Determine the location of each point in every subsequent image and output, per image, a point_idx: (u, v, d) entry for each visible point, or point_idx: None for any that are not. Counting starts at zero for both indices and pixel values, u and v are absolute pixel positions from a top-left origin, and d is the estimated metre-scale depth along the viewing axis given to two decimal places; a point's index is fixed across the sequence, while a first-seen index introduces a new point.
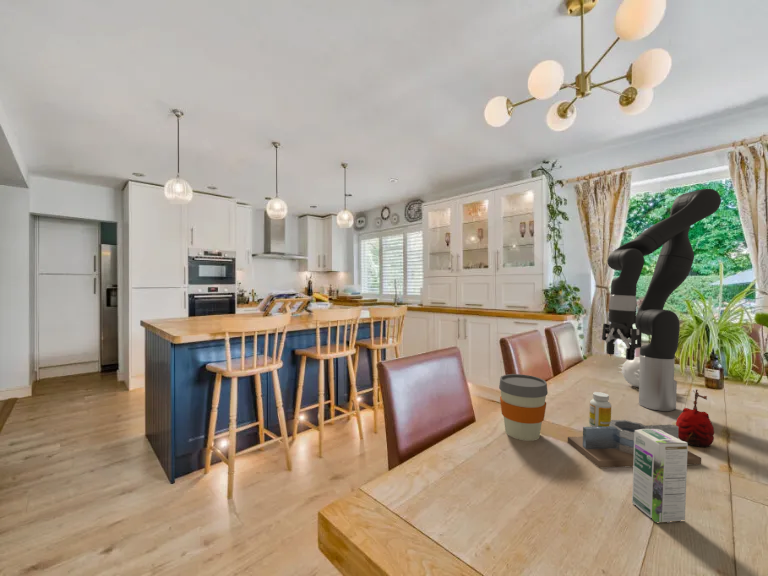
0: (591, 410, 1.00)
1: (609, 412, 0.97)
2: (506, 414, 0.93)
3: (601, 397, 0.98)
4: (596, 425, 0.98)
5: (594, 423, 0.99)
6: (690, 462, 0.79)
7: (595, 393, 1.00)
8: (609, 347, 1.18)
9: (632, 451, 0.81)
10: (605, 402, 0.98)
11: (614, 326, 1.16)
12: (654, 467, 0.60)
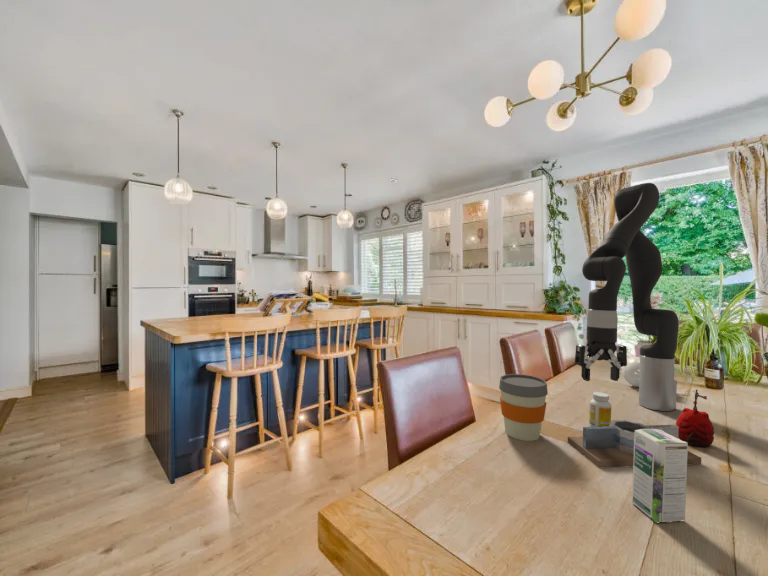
0: (591, 410, 1.00)
1: (609, 412, 0.97)
2: (506, 414, 0.93)
3: (601, 397, 0.98)
4: (596, 425, 0.98)
5: (594, 423, 0.99)
6: (690, 462, 0.79)
7: (595, 393, 1.00)
8: None
9: (632, 451, 0.81)
10: (605, 402, 0.98)
11: (598, 347, 0.98)
12: (655, 467, 0.60)
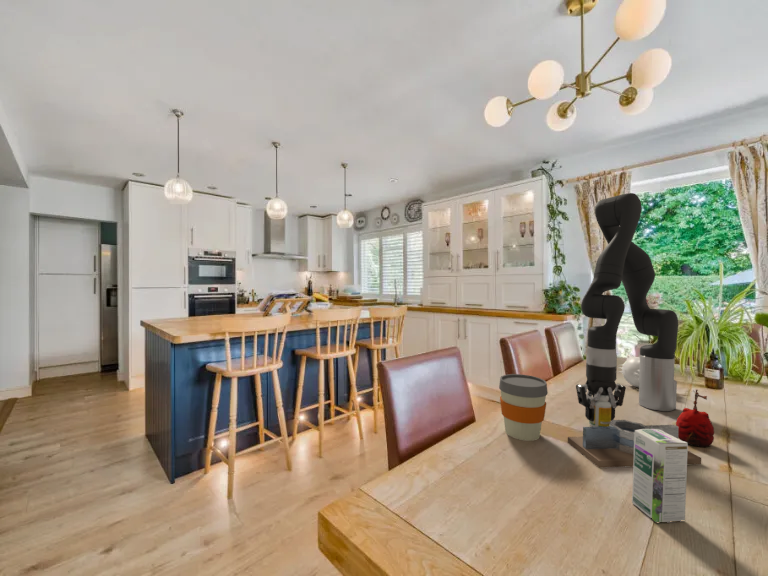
0: None
1: (609, 412, 0.97)
2: (506, 414, 0.93)
3: (601, 397, 0.98)
4: (596, 425, 0.98)
5: (594, 423, 0.99)
6: (690, 462, 0.79)
7: None
8: None
9: (632, 451, 0.81)
10: (605, 402, 0.98)
11: (597, 385, 0.98)
12: (655, 467, 0.60)
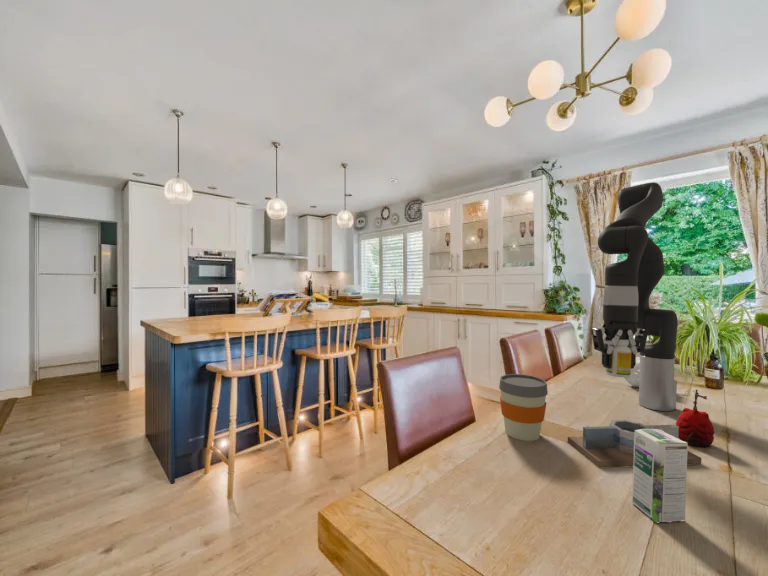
0: None
1: (629, 357, 0.87)
2: (506, 414, 0.93)
3: (620, 341, 0.87)
4: (614, 372, 0.87)
5: (612, 371, 0.88)
6: (690, 462, 0.79)
7: None
8: None
9: (632, 451, 0.81)
10: (624, 346, 0.87)
11: (616, 327, 0.88)
12: (655, 467, 0.60)
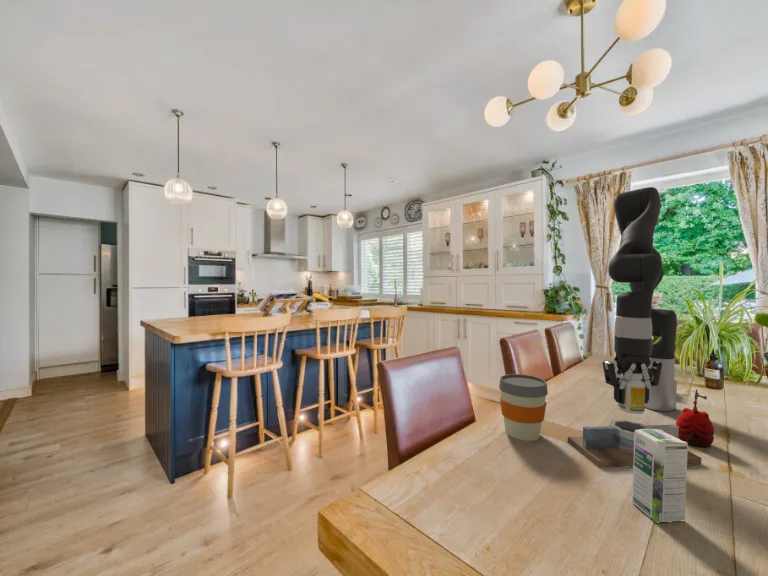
0: None
1: (643, 393, 0.82)
2: (506, 414, 0.93)
3: (633, 375, 0.83)
4: (627, 408, 0.83)
5: (625, 406, 0.83)
6: (690, 462, 0.79)
7: None
8: None
9: (632, 451, 0.81)
10: (638, 381, 0.83)
11: (629, 361, 0.83)
12: (655, 467, 0.60)
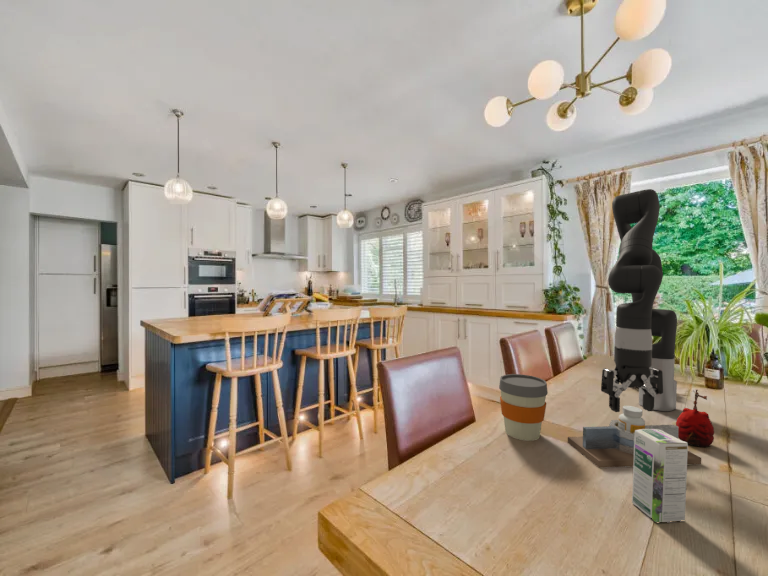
0: (621, 427, 0.85)
1: None
2: (506, 414, 0.93)
3: (633, 412, 0.83)
4: None
5: None
6: (690, 462, 0.79)
7: (625, 407, 0.85)
8: None
9: (632, 451, 0.81)
10: (638, 418, 0.83)
11: (629, 372, 0.83)
12: (655, 467, 0.60)
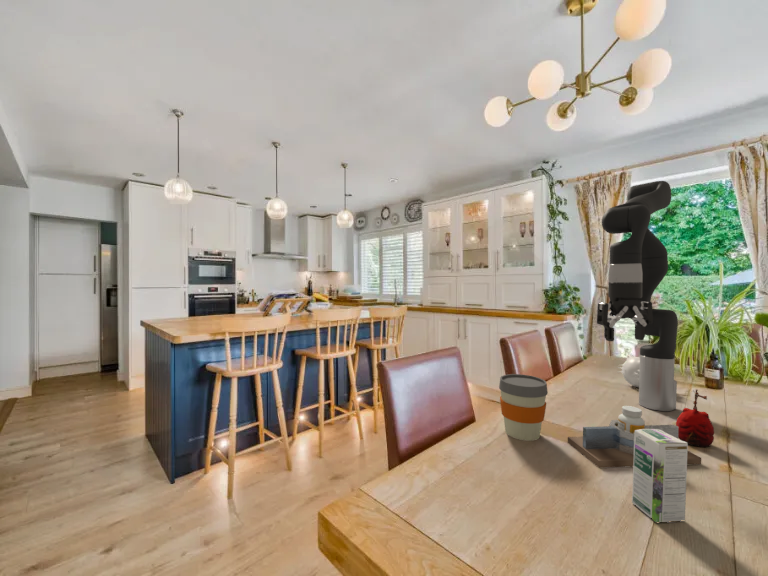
0: (620, 427, 0.85)
1: None
2: (506, 414, 0.93)
3: (633, 412, 0.83)
4: None
5: None
6: (690, 462, 0.79)
7: (625, 407, 0.85)
8: None
9: (632, 451, 0.81)
10: (637, 418, 0.83)
11: (622, 304, 0.91)
12: (654, 467, 0.60)
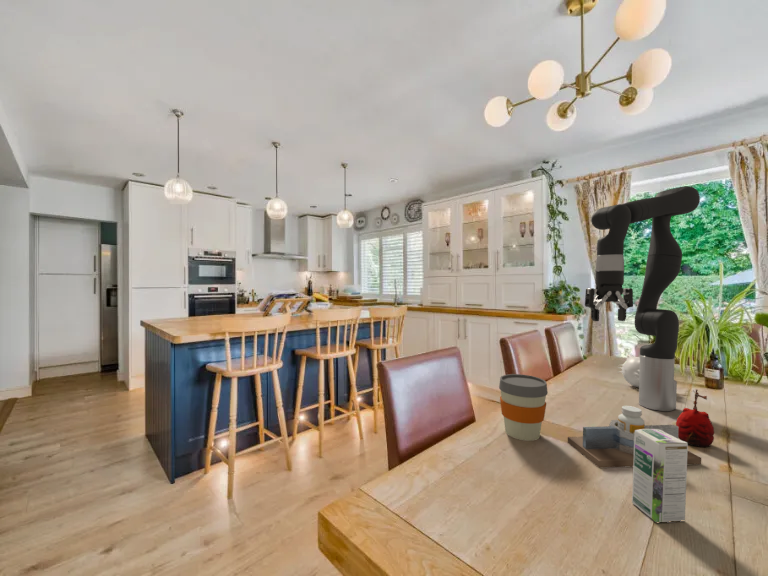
0: (620, 427, 0.85)
1: None
2: (506, 414, 0.93)
3: (632, 412, 0.83)
4: None
5: None
6: (690, 462, 0.79)
7: (625, 407, 0.85)
8: None
9: (632, 451, 0.81)
10: (637, 418, 0.83)
11: (606, 289, 1.06)
12: (655, 467, 0.60)
